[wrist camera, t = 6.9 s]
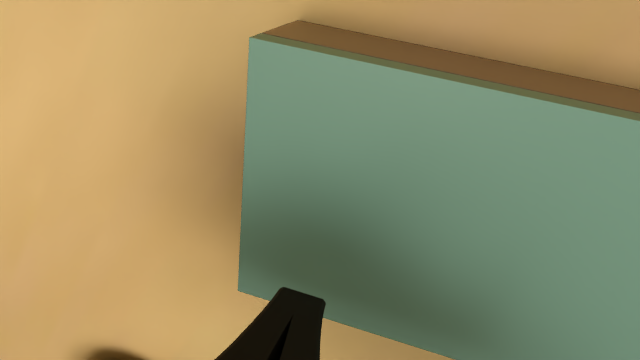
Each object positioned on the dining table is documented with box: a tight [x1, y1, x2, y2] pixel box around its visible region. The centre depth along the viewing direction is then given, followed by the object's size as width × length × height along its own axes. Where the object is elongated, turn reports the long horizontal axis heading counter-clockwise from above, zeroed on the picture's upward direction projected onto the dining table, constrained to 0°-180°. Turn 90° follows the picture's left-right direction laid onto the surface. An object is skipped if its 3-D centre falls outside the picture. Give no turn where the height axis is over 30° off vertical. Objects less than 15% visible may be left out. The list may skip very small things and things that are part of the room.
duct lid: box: [238, 33, 640, 360], centre depth 12 cm, size 16×10×1 cm, turn 81°
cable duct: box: [262, 20, 640, 113], centre depth 14 cm, size 16×10×4 cm, turn 81°
